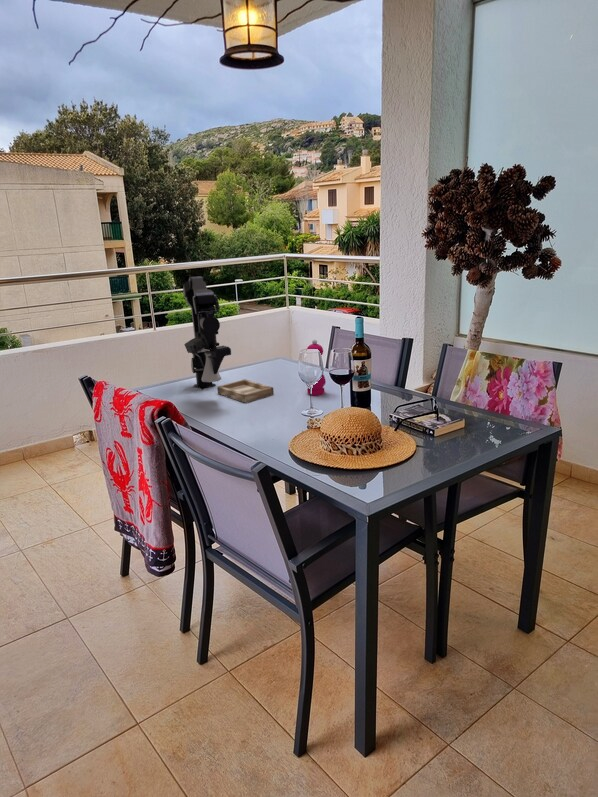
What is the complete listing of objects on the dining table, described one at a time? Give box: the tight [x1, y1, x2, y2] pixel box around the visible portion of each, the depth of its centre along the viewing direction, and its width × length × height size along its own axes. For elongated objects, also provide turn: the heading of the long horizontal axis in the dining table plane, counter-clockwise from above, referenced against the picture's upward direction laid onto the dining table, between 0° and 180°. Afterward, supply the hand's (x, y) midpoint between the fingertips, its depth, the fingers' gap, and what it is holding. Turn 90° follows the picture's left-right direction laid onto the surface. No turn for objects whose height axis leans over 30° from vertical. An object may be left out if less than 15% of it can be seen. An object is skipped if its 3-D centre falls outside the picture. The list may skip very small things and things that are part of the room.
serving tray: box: [216, 378, 275, 404], centre depth 206 cm, size 17×13×3 cm
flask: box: [201, 352, 222, 383], centre depth 195 cm, size 7×7×10 cm
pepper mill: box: [305, 339, 326, 397], centre depth 202 cm, size 7×7×20 cm
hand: (210, 372), depth 196 cm, fingers closed on flask, 5 cm apart
